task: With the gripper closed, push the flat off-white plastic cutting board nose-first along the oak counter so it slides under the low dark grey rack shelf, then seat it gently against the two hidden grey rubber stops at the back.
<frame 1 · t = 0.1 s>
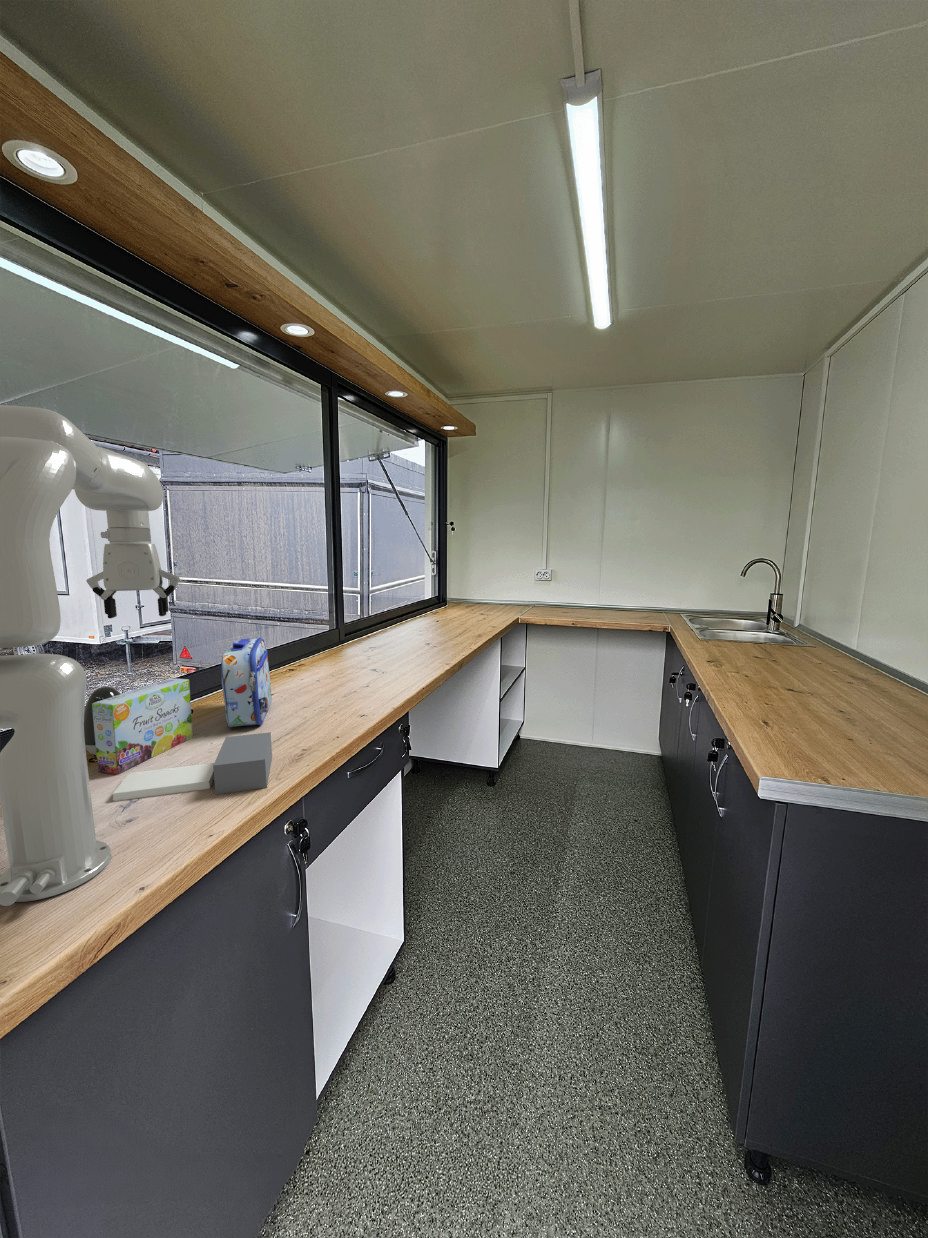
hand: (138, 616, 109), 31 cm above the worktop, fingers open, 9 cm apart
lunch box: (250, 717, 137), on the worktop
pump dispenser: (110, 752, 114), on the worktop
snack box: (150, 754, 113), on the worktop
rack: (243, 774, 102), on the worktop
cutting board: (169, 786, 98), on the worktop
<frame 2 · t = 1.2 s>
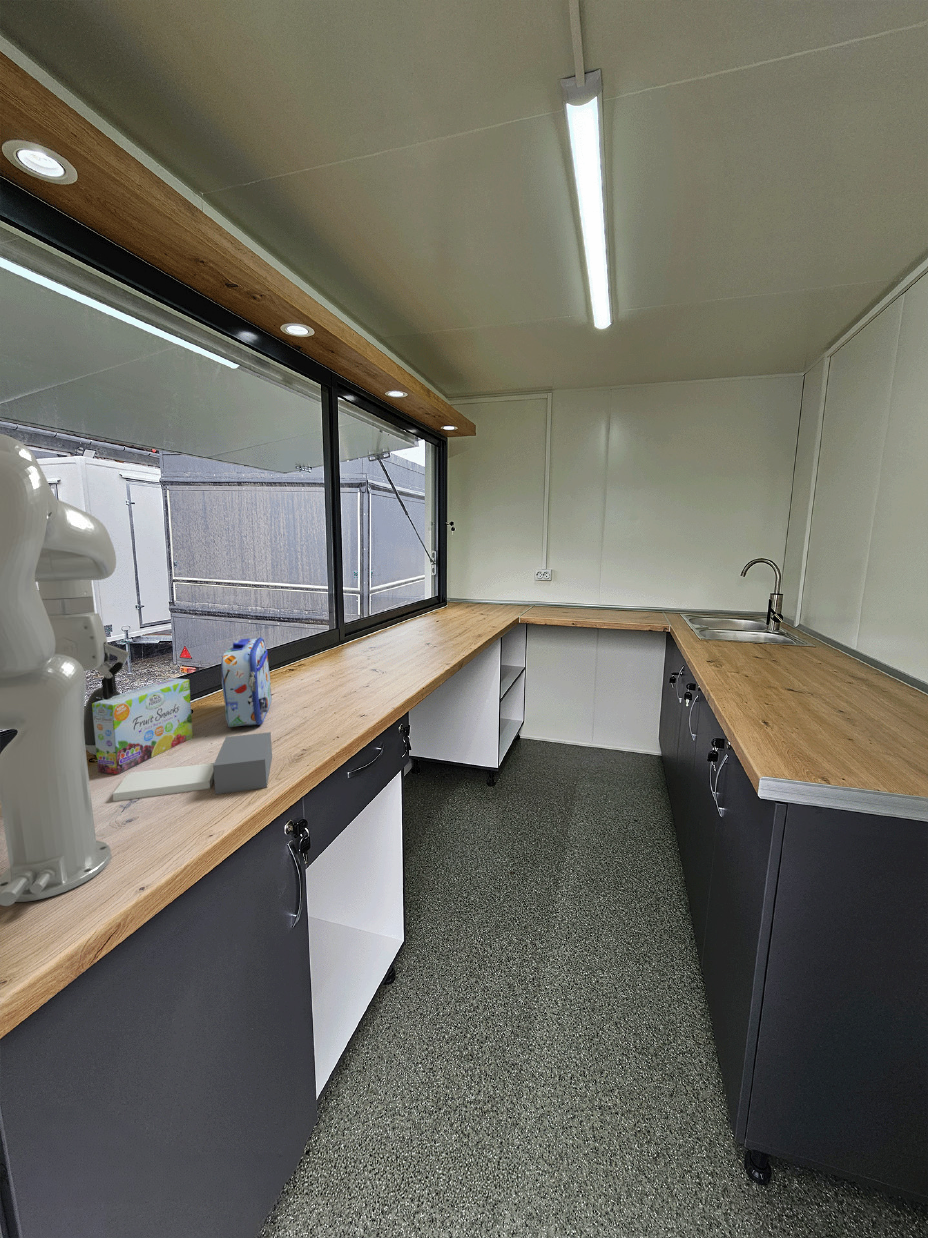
hand: (78, 700, 92), 18 cm above the worktop, fingers open, 9 cm apart
nothing on the worktop moved.
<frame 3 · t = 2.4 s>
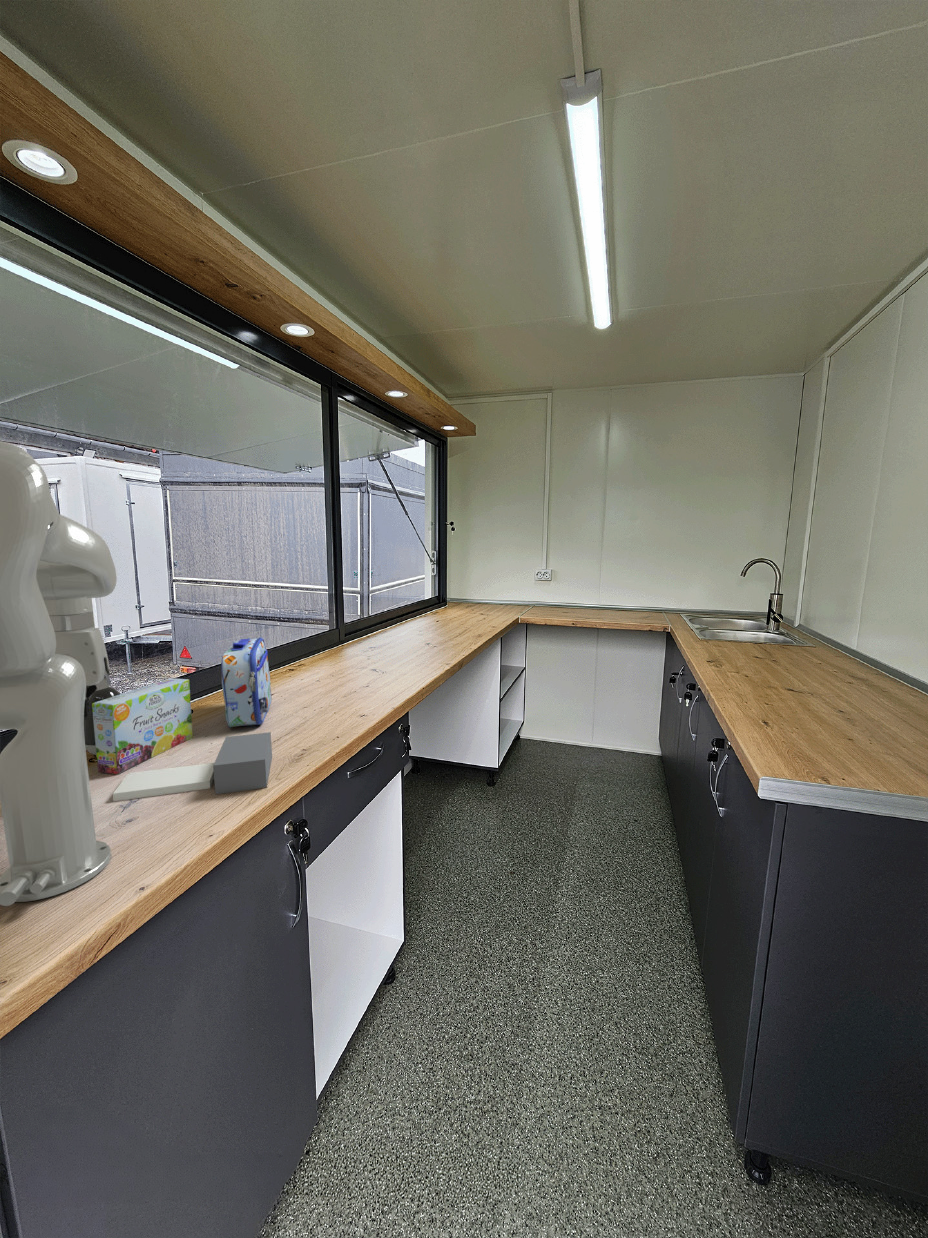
hand: (80, 720, 93), 14 cm above the worktop, fingers closed
nothing on the worktop moved.
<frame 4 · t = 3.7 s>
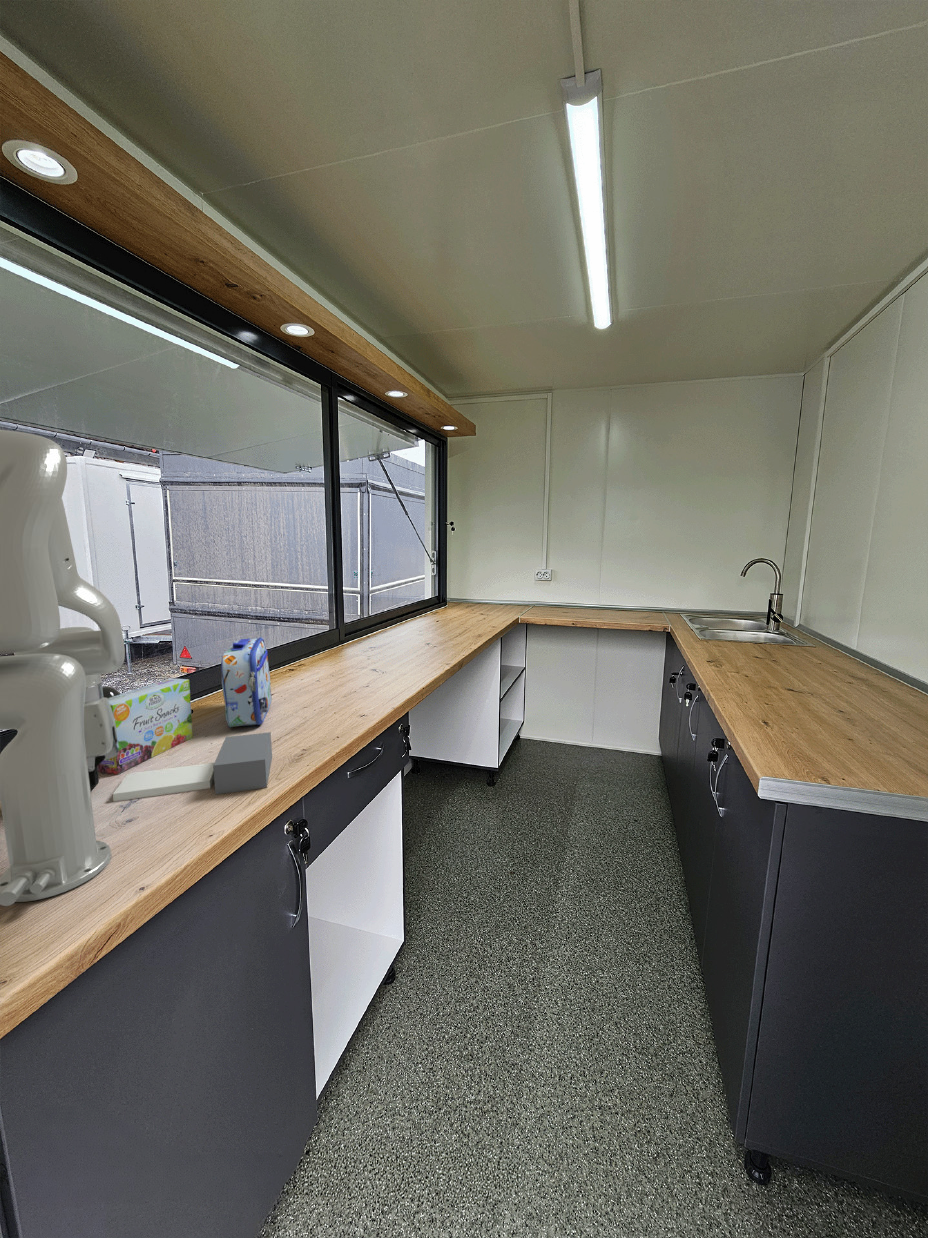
hand: (88, 789, 94), 1 cm above the worktop, fingers closed
nothing on the worktop moved.
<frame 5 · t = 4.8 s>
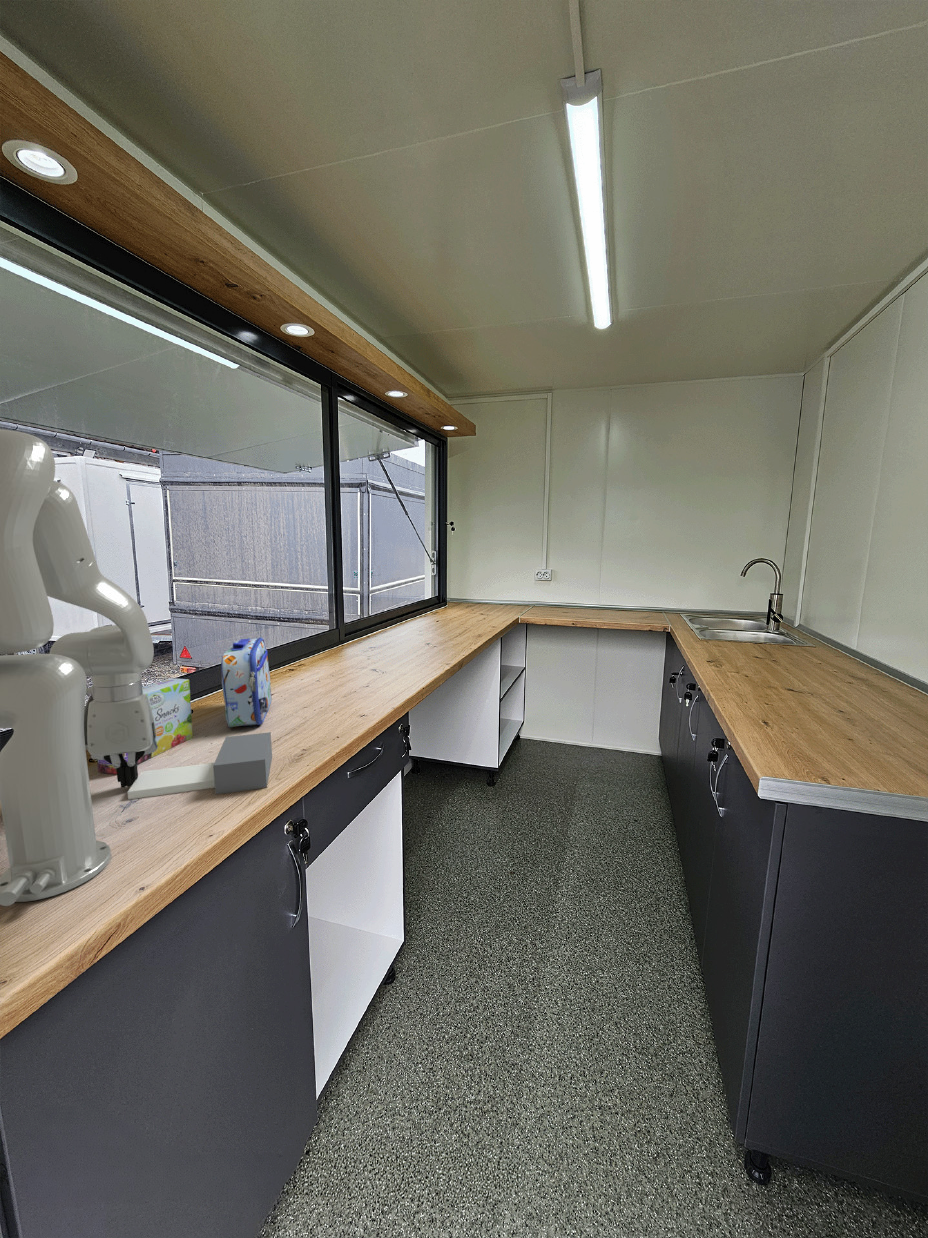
hand: (128, 783, 96), 1 cm above the worktop, fingers closed
cutting board: (182, 784, 99), on the worktop, touching gripper
everything else where it was.
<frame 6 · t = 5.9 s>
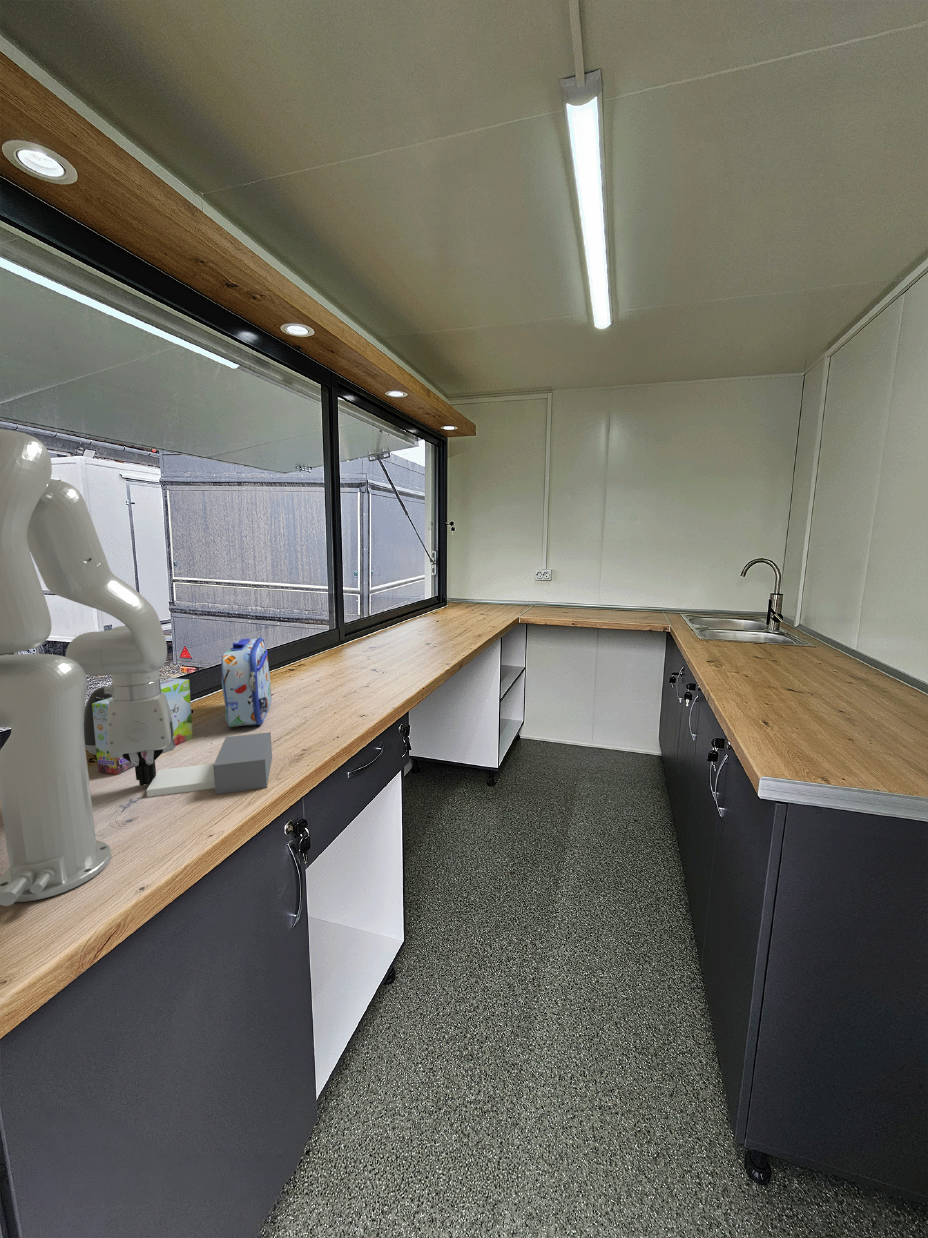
hand: (146, 782, 97), 1 cm above the worktop, fingers closed
cutting board: (199, 783, 100), on the worktop, touching gripper
everything else where it was.
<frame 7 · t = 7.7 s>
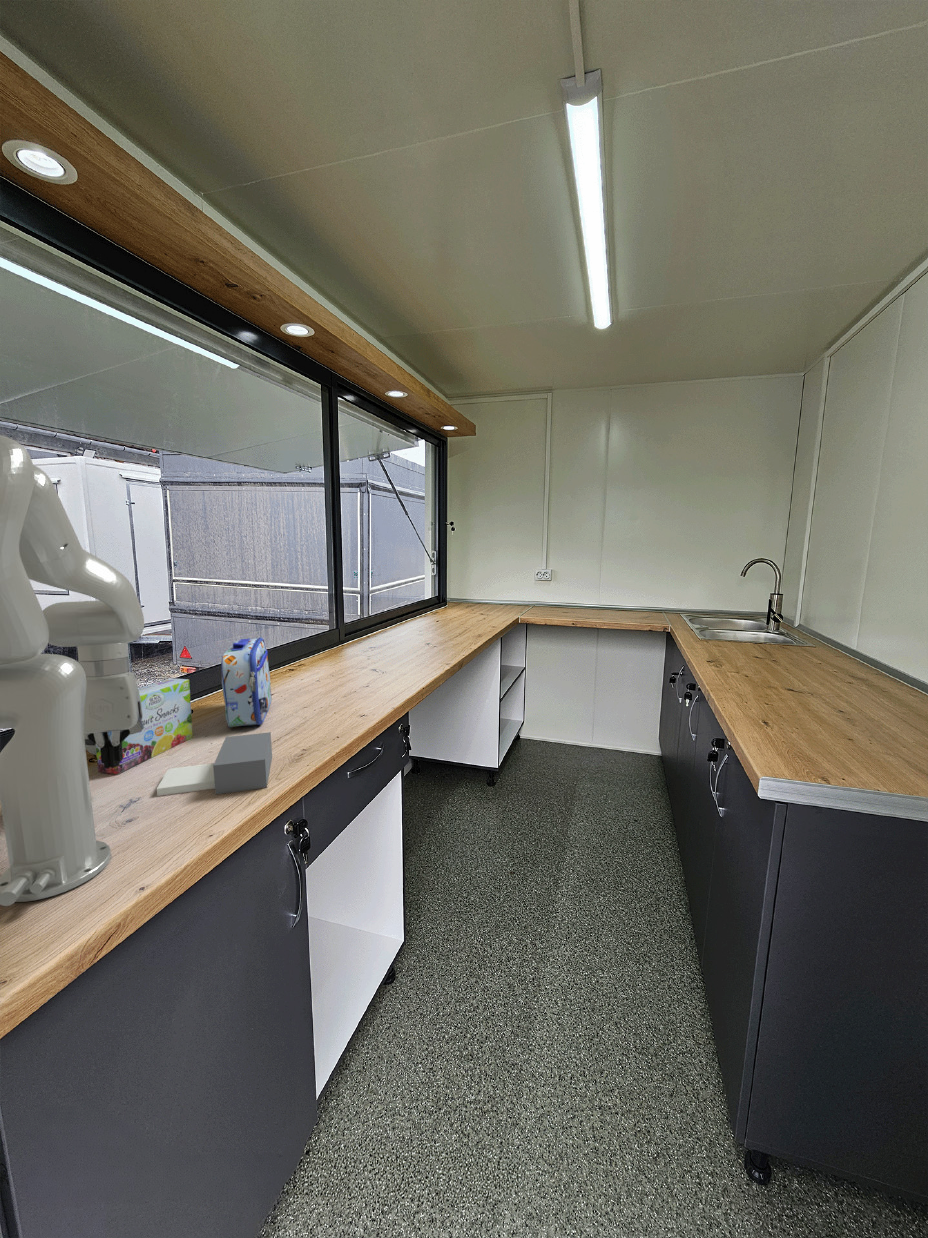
hand: (112, 765, 93), 6 cm above the worktop, fingers closed
cutting board: (209, 782, 100), on the worktop
everything else where it was.
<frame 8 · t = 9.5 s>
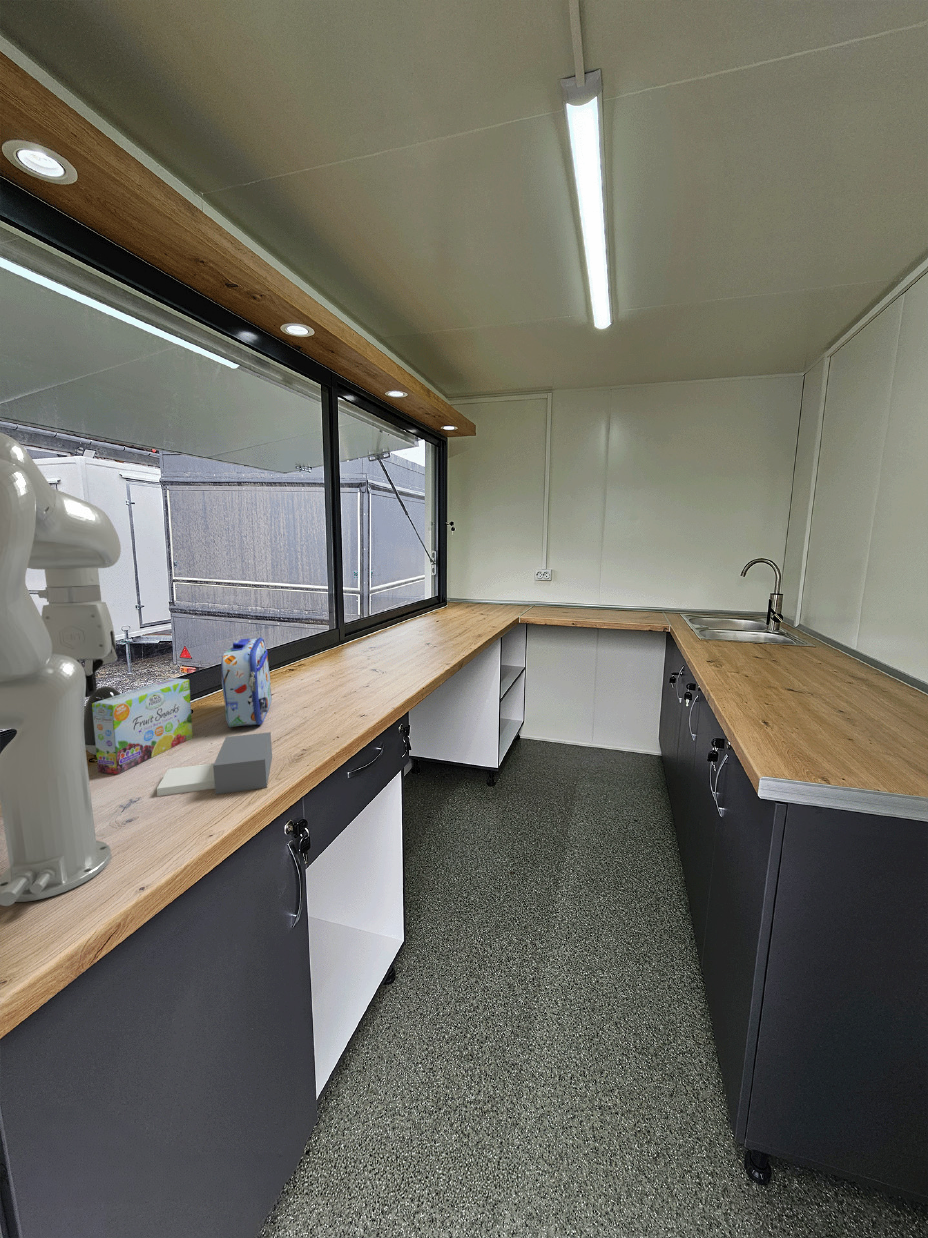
hand: (86, 695, 92), 19 cm above the worktop, fingers closed
nothing on the worktop moved.
at the end: cutting board inside the target area (0.7 cm from its centre), on the worktop; cutting board tilted 0° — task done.
